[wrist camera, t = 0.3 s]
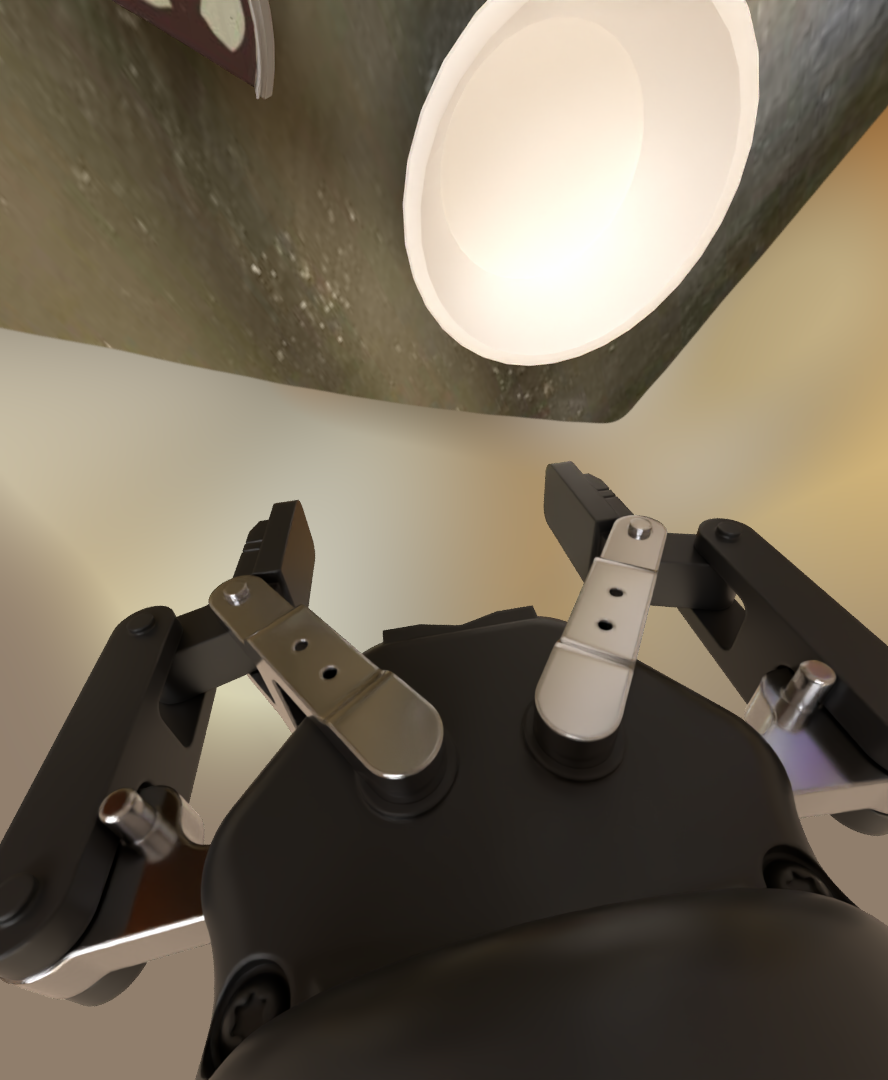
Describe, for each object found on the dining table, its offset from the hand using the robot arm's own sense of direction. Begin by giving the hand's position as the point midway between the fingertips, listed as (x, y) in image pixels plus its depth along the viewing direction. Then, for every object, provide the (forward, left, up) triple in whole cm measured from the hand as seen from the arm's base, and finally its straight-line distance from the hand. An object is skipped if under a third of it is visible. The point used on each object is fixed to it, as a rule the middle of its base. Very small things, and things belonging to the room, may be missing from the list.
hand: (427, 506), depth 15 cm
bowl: (+9, +9, -31) cm, 34 cm away
